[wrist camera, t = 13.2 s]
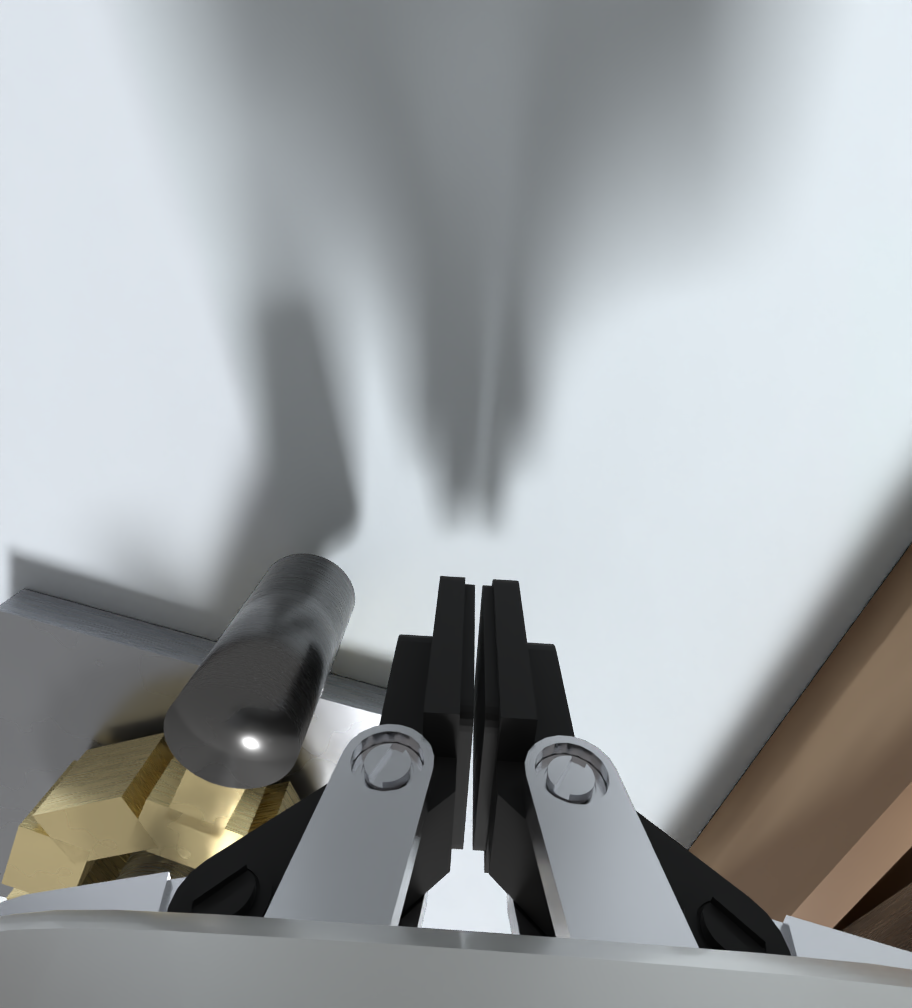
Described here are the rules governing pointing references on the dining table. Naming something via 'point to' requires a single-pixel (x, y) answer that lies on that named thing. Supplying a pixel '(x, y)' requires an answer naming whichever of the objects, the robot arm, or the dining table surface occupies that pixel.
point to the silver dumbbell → (888, 921)
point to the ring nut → (199, 745)
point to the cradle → (831, 781)
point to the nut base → (121, 704)
